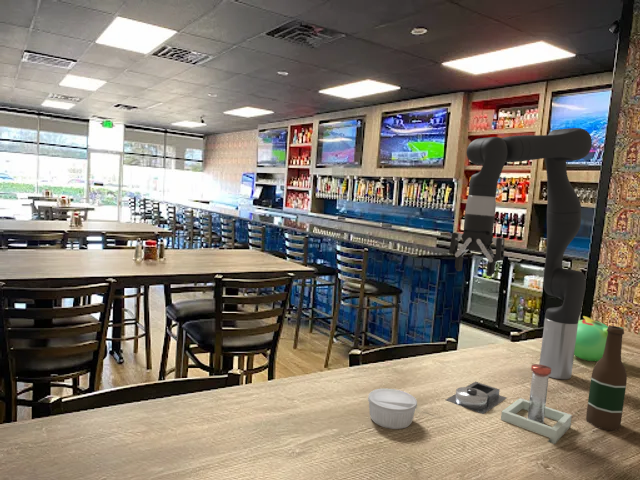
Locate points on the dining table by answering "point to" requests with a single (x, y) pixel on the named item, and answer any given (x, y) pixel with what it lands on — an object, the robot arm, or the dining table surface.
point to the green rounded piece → (590, 339)
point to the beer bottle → (608, 385)
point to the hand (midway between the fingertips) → (473, 273)
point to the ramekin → (391, 408)
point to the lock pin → (538, 392)
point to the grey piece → (477, 397)
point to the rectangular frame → (545, 430)
